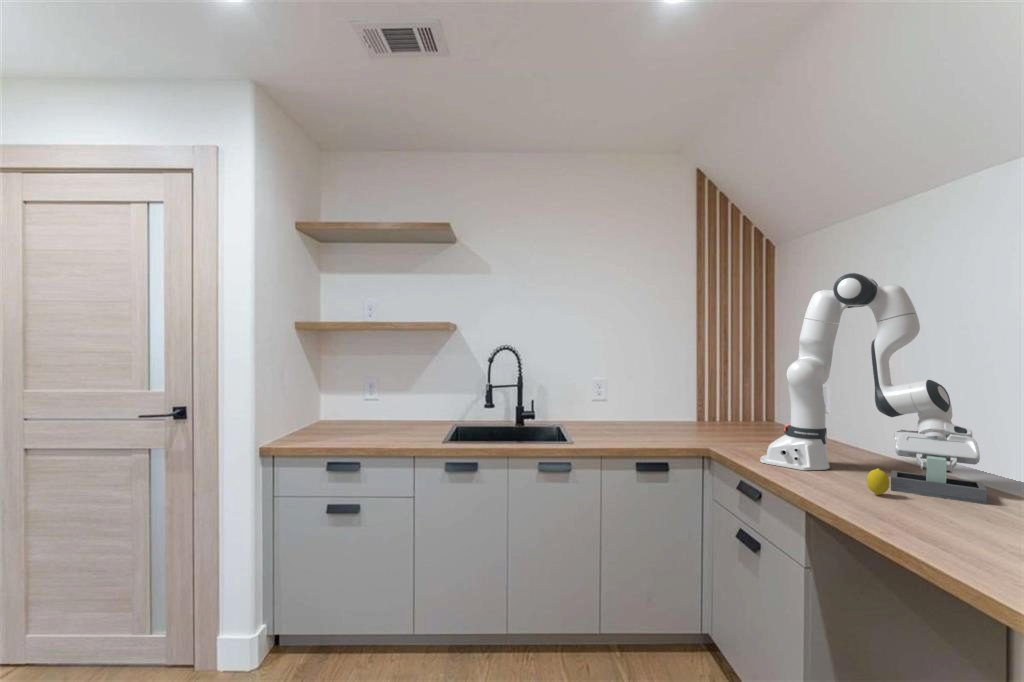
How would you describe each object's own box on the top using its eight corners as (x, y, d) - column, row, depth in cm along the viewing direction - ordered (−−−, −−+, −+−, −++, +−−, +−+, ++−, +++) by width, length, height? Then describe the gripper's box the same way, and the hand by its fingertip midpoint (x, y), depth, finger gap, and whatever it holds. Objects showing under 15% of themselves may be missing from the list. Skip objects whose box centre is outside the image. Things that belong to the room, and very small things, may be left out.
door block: (926, 484, 159) (927, 458, 159) (926, 481, 163) (926, 455, 163) (946, 487, 157) (946, 460, 156) (945, 484, 160) (945, 457, 160)
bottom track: (890, 490, 162) (890, 477, 162) (891, 482, 170) (891, 470, 170) (986, 504, 149) (987, 490, 149) (982, 495, 157) (982, 482, 157)
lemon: (867, 491, 161) (868, 465, 161) (889, 495, 157) (890, 468, 157) (865, 495, 156) (865, 468, 156) (888, 499, 153) (888, 471, 153)
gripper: (894, 423, 171) (893, 459, 163) (978, 430, 159) (981, 469, 151) (894, 435, 175) (893, 470, 167) (976, 443, 163) (979, 481, 155)
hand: (936, 470), depth 159 cm, fingers closed on door block, 4 cm apart
